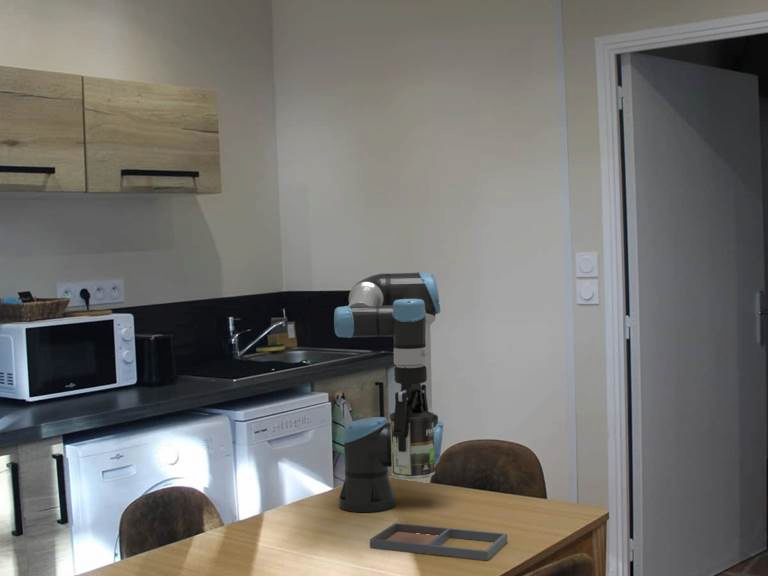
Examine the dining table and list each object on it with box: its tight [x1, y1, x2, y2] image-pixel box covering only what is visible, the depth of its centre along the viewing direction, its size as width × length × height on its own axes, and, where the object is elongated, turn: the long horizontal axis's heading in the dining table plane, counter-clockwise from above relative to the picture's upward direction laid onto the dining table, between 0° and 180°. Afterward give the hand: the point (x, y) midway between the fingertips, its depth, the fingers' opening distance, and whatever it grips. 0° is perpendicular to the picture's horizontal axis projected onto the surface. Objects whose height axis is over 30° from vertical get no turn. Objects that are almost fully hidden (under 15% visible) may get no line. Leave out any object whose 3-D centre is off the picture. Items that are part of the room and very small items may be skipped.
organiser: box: [369, 522, 508, 562], centre depth 227 cm, size 15×28×2 cm, turn 66°
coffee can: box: [389, 411, 436, 480], centre depth 229 cm, size 10×10×14 cm
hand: (412, 460), depth 230 cm, fingers closed on coffee can, 10 cm apart
